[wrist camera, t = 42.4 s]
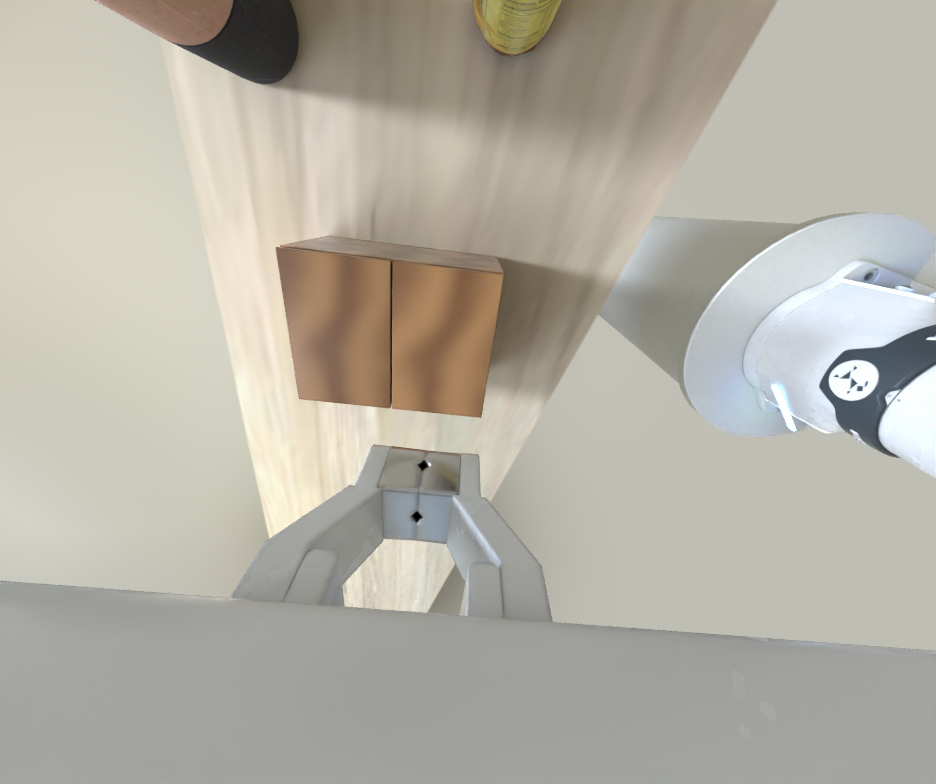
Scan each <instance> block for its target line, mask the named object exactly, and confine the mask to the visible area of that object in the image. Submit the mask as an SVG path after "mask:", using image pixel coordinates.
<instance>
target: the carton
mask: <svg viewBox="0 0 936 784" xmlns="http://www.w3.org/2000/svg"><path fill="white" fill-rule="evenodd" d="M276 254H277V260H278V267H279V273H280V280H281V286H282V292H283V299H284V305H285V312H286V318H287V325H288V331H289V338H290V344H291V351H292V357H293V364H294V370H295V377H296V383H297V390H298V396H299V399H304V400H314V401H324V402H334V403H343V404H353V405H363V406H373V407H382V408H390V407H391V404H392V284H393V261H398V262H406V263H414V264H422V265H430V266H439V267H447V268H455V269H463V270H471V271H479V272H488V273H496V274H503V275H504V272H503V270H502V268H501V266H500V264H499V262H498V259H497V257H494V256H486V255H478V254H470V253H462V252H454V251H446V250H438V249H430V248H422V247H414V246H406V245H398V244H390V243H382V242H374V241H366V240H358V239H350V238H342V237H334V236H324V237H320V238H315V239H310V240H305V241H300V242H295V243H290V244H285V245H280V247H276Z"/></svg>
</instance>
